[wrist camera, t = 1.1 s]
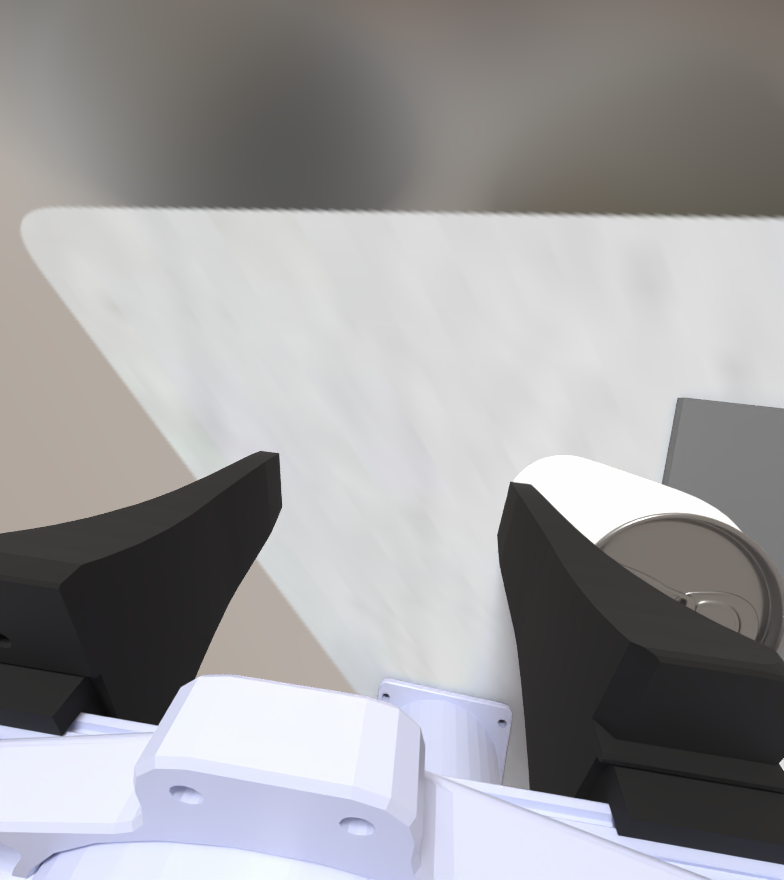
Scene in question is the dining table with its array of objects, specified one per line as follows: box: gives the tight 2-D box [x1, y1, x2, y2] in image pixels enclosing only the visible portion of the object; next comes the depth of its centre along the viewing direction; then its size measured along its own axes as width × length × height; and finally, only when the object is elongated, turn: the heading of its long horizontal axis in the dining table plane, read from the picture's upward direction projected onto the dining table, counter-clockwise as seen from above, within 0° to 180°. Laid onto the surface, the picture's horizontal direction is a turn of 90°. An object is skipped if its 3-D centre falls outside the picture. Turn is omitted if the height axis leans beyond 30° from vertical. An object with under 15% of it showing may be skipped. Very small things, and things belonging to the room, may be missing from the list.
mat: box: [662, 398, 784, 661], centre depth 21 cm, size 14×12×1 cm
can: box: [504, 455, 784, 654], centre depth 17 cm, size 6×6×12 cm
